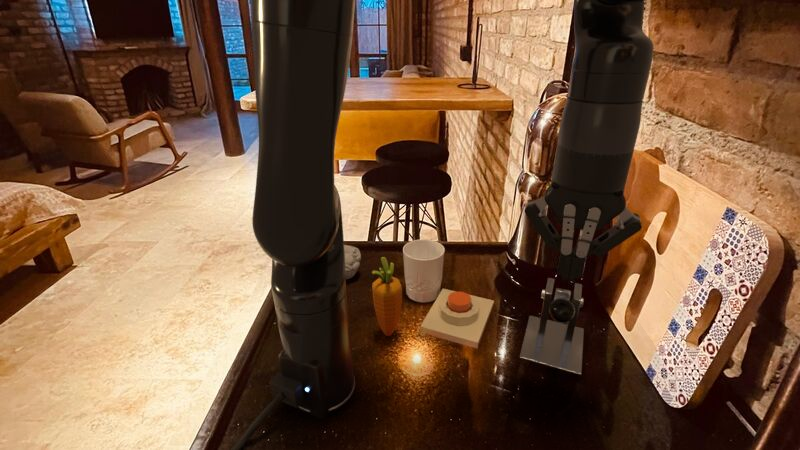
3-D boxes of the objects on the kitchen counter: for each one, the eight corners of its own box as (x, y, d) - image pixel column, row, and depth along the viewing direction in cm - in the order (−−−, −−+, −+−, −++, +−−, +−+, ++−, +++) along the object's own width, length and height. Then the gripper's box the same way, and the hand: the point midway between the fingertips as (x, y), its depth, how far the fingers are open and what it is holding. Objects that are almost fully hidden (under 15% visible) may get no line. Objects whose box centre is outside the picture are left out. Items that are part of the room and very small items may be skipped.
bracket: (580, 380, 61) (595, 317, 56) (518, 362, 64) (528, 301, 59) (582, 333, 70) (596, 276, 64) (528, 320, 73) (537, 264, 68)
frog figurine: (368, 274, 87) (366, 245, 84) (345, 289, 82) (343, 260, 79) (347, 265, 91) (345, 237, 88) (324, 279, 86) (321, 250, 83)
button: (467, 316, 69) (467, 307, 68) (444, 310, 70) (445, 302, 70) (473, 302, 72) (473, 294, 71) (451, 297, 74) (452, 289, 73)
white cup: (431, 309, 76) (432, 264, 72) (395, 296, 80) (394, 252, 75) (449, 288, 82) (451, 245, 78) (415, 277, 86) (415, 235, 81)
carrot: (399, 347, 67) (398, 271, 61) (370, 343, 68) (366, 268, 62) (405, 328, 72) (404, 254, 65) (378, 324, 73) (374, 252, 66)
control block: (477, 352, 66) (479, 333, 64) (419, 336, 70) (420, 317, 68) (493, 309, 76) (495, 292, 74) (442, 297, 80) (442, 280, 78)
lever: (572, 328, 51) (577, 303, 51) (546, 321, 52) (550, 297, 52) (571, 309, 63) (574, 288, 63) (549, 304, 64) (553, 284, 64)
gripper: (525, 145, 43) (509, 282, 50) (672, 158, 38) (628, 308, 45) (535, 129, 49) (519, 253, 56) (662, 138, 44) (625, 273, 52)
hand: (568, 277), depth 51 cm, fingers closed
